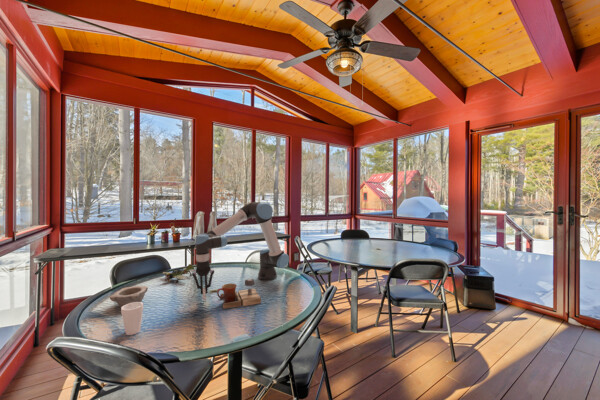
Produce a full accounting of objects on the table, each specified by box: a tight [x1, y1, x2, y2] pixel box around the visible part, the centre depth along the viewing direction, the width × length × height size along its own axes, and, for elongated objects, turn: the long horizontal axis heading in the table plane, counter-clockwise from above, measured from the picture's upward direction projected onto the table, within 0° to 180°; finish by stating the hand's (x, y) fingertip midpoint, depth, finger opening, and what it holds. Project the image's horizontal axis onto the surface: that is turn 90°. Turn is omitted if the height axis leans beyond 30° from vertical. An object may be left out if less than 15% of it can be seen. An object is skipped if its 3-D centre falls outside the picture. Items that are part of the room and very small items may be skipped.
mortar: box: [109, 285, 149, 308], centre depth 165 cm, size 17×17×9 cm
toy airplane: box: [162, 263, 196, 283], centre depth 214 cm, size 31×25×10 cm
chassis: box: [219, 288, 262, 310], centre depth 170 cm, size 18×22×6 cm
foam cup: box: [120, 301, 144, 336], centre depth 134 cm, size 10×9×13 cm
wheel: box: [244, 278, 255, 287], centre depth 173 cm, size 6×6×3 cm
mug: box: [216, 283, 237, 303], centre depth 168 cm, size 12×9×10 cm
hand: (204, 298), depth 163 cm, fingers closed
